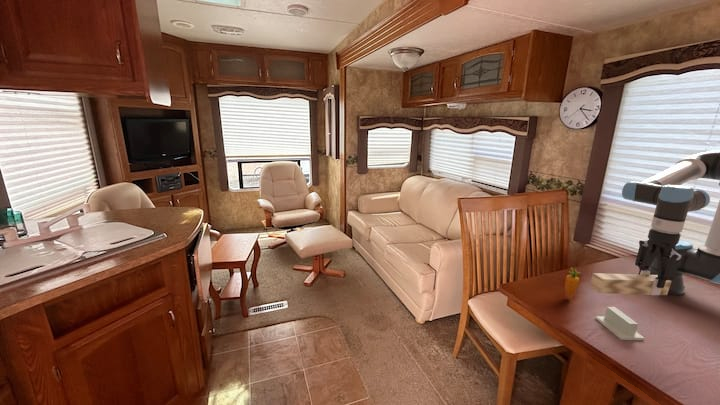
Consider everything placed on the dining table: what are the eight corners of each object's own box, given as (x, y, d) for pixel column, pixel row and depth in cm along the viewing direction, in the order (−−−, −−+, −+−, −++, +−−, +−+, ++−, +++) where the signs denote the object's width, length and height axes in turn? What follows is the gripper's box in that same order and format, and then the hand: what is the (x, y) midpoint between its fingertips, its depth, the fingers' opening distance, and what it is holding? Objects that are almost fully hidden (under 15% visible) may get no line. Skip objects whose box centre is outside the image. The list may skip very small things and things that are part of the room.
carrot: (577, 303, 126) (584, 272, 122) (564, 302, 127) (571, 270, 123) (571, 296, 130) (578, 266, 126) (559, 295, 131) (565, 265, 127)
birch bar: (654, 288, 108) (659, 275, 106) (667, 295, 104) (671, 281, 102) (589, 286, 108) (592, 273, 107) (598, 293, 104) (602, 279, 103)
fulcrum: (615, 318, 116) (619, 305, 114) (643, 340, 104) (647, 325, 103) (595, 318, 116) (598, 305, 114) (621, 339, 104) (625, 325, 103)
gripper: (631, 222, 108) (617, 278, 114) (681, 239, 91) (661, 304, 97) (652, 222, 108) (636, 278, 114) (705, 240, 91) (683, 305, 97)
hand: (647, 290), depth 106 cm, fingers closed on birch bar, 4 cm apart
